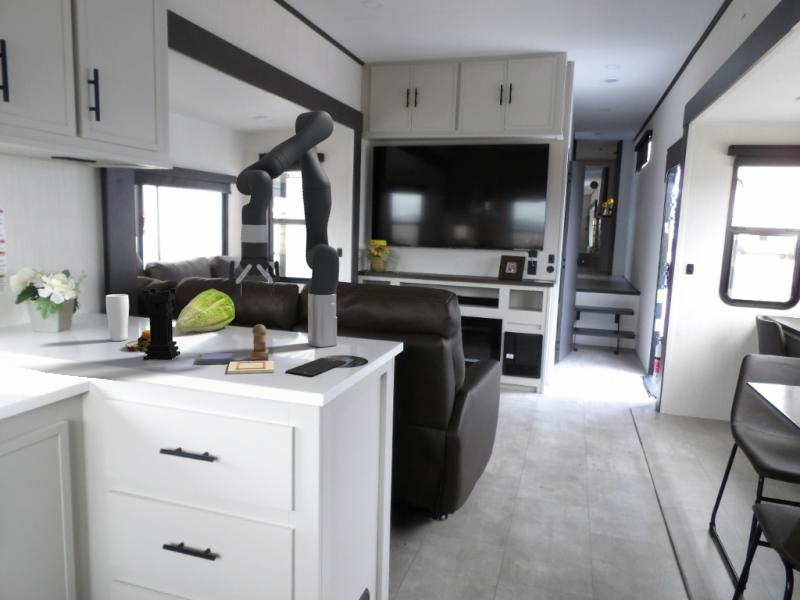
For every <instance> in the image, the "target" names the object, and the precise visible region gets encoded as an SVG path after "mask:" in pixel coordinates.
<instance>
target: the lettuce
mask: <svg viewBox="0 0 800 600" xmlns="http://www.w3.org/2000/svg"><path fill="white" fill-rule="evenodd" d="M235 313H236V312H235V304H234V301H233V299H232V298H231V297H230V295H228V294H226V293H224V292H222V291H219V290H217V289H215V288H210V289H207V290H204V291H202V292H201V293H199V294H197V295H196V296H195V297H194V298H192V299H191V300H190V301H189V302H188V304H186V306H184V308H182V310H181V311H180V314H179V315H178V317H177V320H176V322H175V328H176V330H177V331H178V332H180V333H188V332H199V333H200V332H201V333H203V332H213V331H218V330H222V329H223V328H225V327H226V326H228V325H229V324H230V323H231V322H232V321H233V320H234V319H235V316H236V315H235Z"/></svg>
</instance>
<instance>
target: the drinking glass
mask: <svg viewBox="0 0 800 600" xmlns="http://www.w3.org/2000/svg"><path fill="white" fill-rule="evenodd" d="M105 309H106V310H105V311H106V316H107V317H106V318H107V324H108V332H109V340H110V341H112V342H123V341H127V340H128V339H129V337H128V336H129V335H128V333H129V332H128V330H129V313H130V312H129V311H130V299H129V295H128V294H126V293H117V294H115V293H113V294H107V295H105Z"/></svg>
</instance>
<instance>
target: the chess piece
mask: <svg viewBox="0 0 800 600" xmlns="http://www.w3.org/2000/svg"><path fill="white" fill-rule="evenodd" d="M177 293H178V289H177V287H176V288H175V287H172V288H169V290H163V291H162V292H161V291H158V287H151V288H149V289H144V290H142V296H144V303H145V302H146V303H148V309H147V314H149V315H148V316H149V330H150V344H149V345H147V348H149V349H148V350H146V351H145V352H144V356H143V357H142V360H143V361H172V359H173V360H174V359H175V358H177V357H178V356H179V355H181V351H180V350H179V346H178V345H177V341H176V340H175V341H174V335H173V334H174V333H173V332H174V329H173V311H174V310H175V307H174V306H173V305H172V304H173V301H174V300H176V294H177ZM176 356H177V357H176Z"/></svg>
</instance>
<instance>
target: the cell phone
mask: <svg viewBox="0 0 800 600" xmlns="http://www.w3.org/2000/svg"><path fill="white" fill-rule="evenodd" d="M346 364H347V361H346V360H340V359H335V358H334V359H333V358H325V357H320V358H317V359H314V360H311V361H309V362H305V363H303V364H300V365H298V366H295V367H293V368H290V369H286V370H285V374H289V375H294V376H302V377H307V378H314V377H317V376H318V375H321V374H324V373H327V372H329V371H332V370H334V369H336V368H339V367H341V366H344V365H346Z"/></svg>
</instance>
